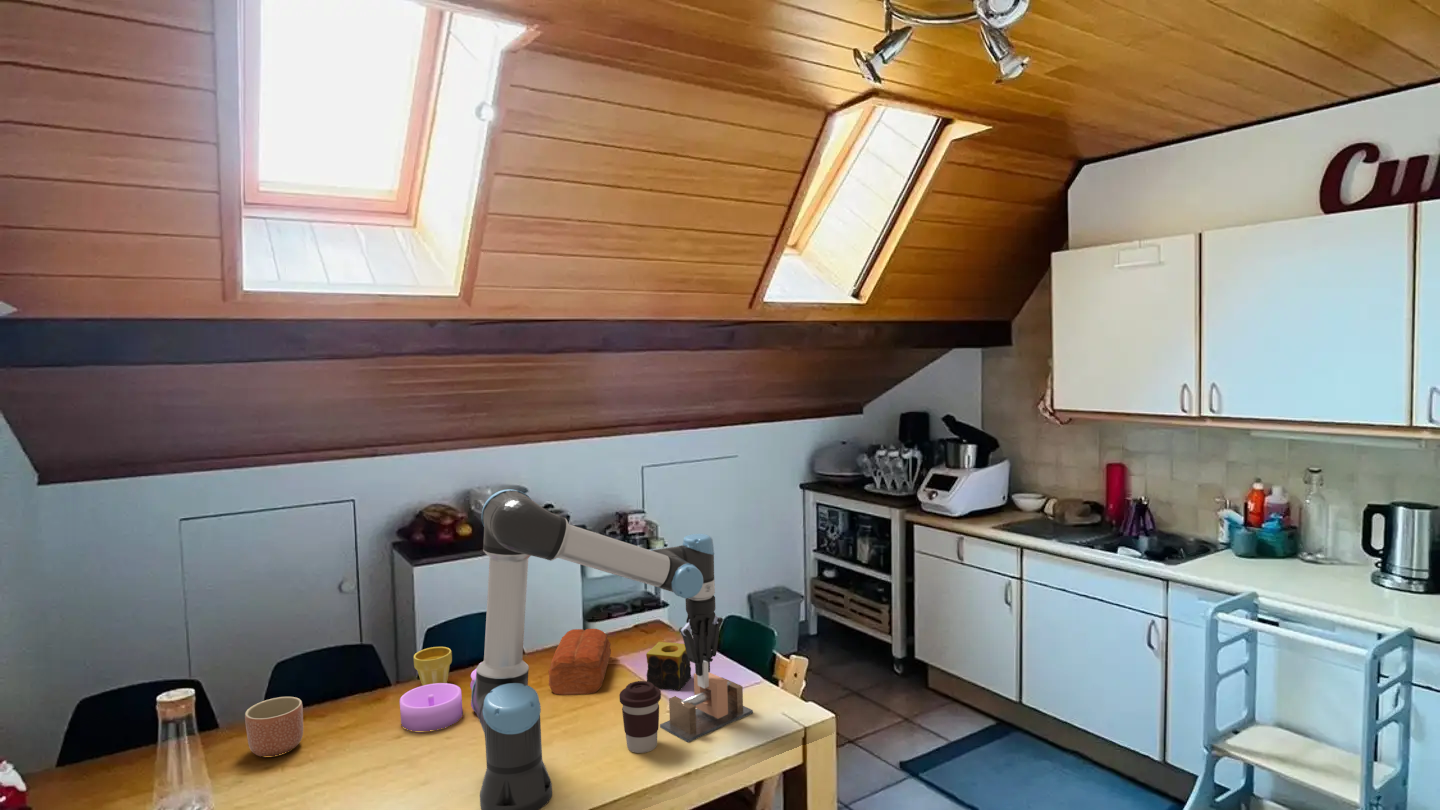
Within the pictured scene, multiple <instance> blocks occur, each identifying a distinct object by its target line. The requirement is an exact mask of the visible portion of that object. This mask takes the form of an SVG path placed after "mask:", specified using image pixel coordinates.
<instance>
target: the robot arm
mask: <svg viewBox="0 0 1440 810" xmlns="http://www.w3.org/2000/svg"><path fill="white" fill-rule="evenodd" d="M480 517H481V518H480V519H481V522H482V525H483V527H484V528H483V545H482V546H483V547H482V550H483V553H485V555H487V556H488V558H489V564H488V581H487V583H488V584H487V601H486V616H485V617H486V618H485V620H486V621H485V635H484V655H483V661H481V662H482V663H481V662H480V664H479V663H478V665H477V666H476V668H477V670H476V680H475V682H474V684H473V688H472V690H471V700H472V705H473V708H474V710H475V711H474V710H473V711H474V712H475V714H476V716H477V718H478V720H479V724H480V725H481V728H482V731H483V733H484V741H485V758H486V759H485V760H486V761H485V762H486V769H485V773H484V777H483V780H482V785H481V789H480V792H479V805H480V809H481V810H541V809H542V808H544V807H546V805H547V804H548V803H549V802H550V800H551V798H552V796H553V785H552V780H551V777H550V775H549V772H548V770H547V768H546V765H545V763H544V761H543V750H542V749H543V747H542V745H543V744H542V728H541V725H542V724H541V710H542V709H541V707H542V706H541V702H540V698H539V695H538V692H537V690H536V689H534V688H533V687H531V686H530V685H529V670H530V666H529V665H528V663H526V662H525V661H524V660H523V659H524V658H523V657H524V656H523V655H524V641H525V640H524V638H525V637H524V636H525V621H526V604H527V587H528V572H529V571H528V570H529V569H528V568H529V567H528V566H529V559H530V557H531V556H532V557H535V558H540V559H544V560H547V561H549V562H551V561H554V560H556V559H561V560H564V561H567V562H571V563H575V564H577V565H581V566H584V567H587V568H588V567H589V568H591V569H595V570H598V571H602V572H605V573H608V574H612V575H616V576H618V577H622V578H624V579H625V578H626V579H629V580H632V581H636V582H639V583H641V584H642V583H643V584H645V585H649V586H653V587H655V588H659V589H661V590H665V591H668V592H670V593H673V594H674V595H676V596H678V597H680V598H683V599H685V611H686V614H687V617H686V621H685V622H686V623H685V625H684V626H683V627H681V626H680V627H679V628H678V631H679V633H680V635H681V636H682V639H683V640H682V641H683V644H685V648H686V653H687V657H688V660H689V661H690V663H693V664H694V668H695V673H696V675H697V679H698V686H700V687H702V688H704V689H705V688H707V687H709V672H710V673H711V662H713V660H714V658H713V657H716V655H717V650H718V643H719V638H720V637H719V636H720V630H721V626H722V624H723V620H724V618H723V617H720V616H717V615H716V609H717V608H716V596H715V593H716V590H715V589H716V587H715V582H716V581H715V550H714V547H715V546H714V540H713V538H712V536H710V535H708V534H705V533H691V534H689V535H685V536H684V537H683V542H682V545H677V546H672V547H670V546H669V547H666V548H664V547H663V548H658V549H653V548H651V549H647V548H646V547H645V548H644V547H641V546H638V545H635V544H632V543H629V542H625V541H622V540H619V539H617V538H613V537H610V536H606V535H604V534H601V533H598V532H595V531H591V530H589V529H585V528H582V527H579V526H575V525H573V524H569V522H568V520H567V518H566V517H564V516H560V515H558V514H557V515H556V514H554V513H553V512H551V511H549V510H547V509H545V508H544V507H543V506H541V505H540V504H538V503H536V502H535V501H534V500H532V498H531V497H530V496H529V495H528V494H527V493H525V492H523V491H520V490H516V489H511V488H509V489H507V488H506V489H501V490H499V491H496V492H494V493H493V494H492V495H491V496H489V497H488V499H487V500H486V501H485V502H484V505H483V507H482V509H481V516H480ZM695 673H694V674H695Z"/></svg>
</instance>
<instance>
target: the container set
mask: <svg viewBox="0 0 1440 810" xmlns="http://www.w3.org/2000/svg"><path fill="white" fill-rule="evenodd" d="M482 662H483V661H481V662H480V663H482ZM480 663H478V665H479V664H480ZM476 670H477V667H476V668H475V669H474V670H473V671H472V672H471V674H470V678H471V682H470V685H469V686H470V689H471V691H472V688H473V684H474V682H475V680H476ZM470 706H471V709H472V710H473V711H474V712H475V710H474V708H473V705H472V699H471V700H470ZM399 708H400V711H399V712H400V724H402V725H401V727H402V726H403V727H404V728H406V729H408V730H412V731H430V730H436V731H438V730H437V729H440V730H442V729H441V728H443V729H446V728H448V726H449V727H450V725H451V726H453V725H454V723H455V724H456V723H458V722H459V721H460V720H461V719H462V717H463V714H464V713H463V699H462V689H461V687H460V686H459V685H457V684H453V683H448V682H447V683H435V684H428V685H424V686H422V685H420V686H417V687H415V688H412V689H410V690H408V691H407V692H405V693H403V695H402V696H401V697H400V698H399ZM460 718H461V719H460ZM459 719H460V720H459ZM452 724H453V725H452ZM403 727H402V728H403ZM445 727H446V728H445ZM404 728H403V729H404ZM408 730H407V731H408Z"/></svg>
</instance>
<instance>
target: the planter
mask: <svg viewBox="0 0 1440 810" xmlns="http://www.w3.org/2000/svg"><path fill="white" fill-rule="evenodd" d="M303 707H304V706H303V701H302V700H301V699H300V698H298V697H296V696H295V697H294V696H279V697H273V698H270V699H266V700H263V701H260V702H258V703H255V704H254V705H252V706H250V707H248V709H247V710H246V711H245V713H244V720H245V721H244V722H245V729H246V736H247V744H248V748H249V749H250V751H251V753H253V754H255V755H256V756H259V757H261V756H275V755H279V754H282V753H285V752H288V751H290V750H291V749H293V748H294V749H295V748H296V747H297V746H298V745H299V744H300V743H301V741H302V738H303V735H304V712H303V711H304V710H303V709H304V708H303ZM294 749H293V750H294ZM291 751H292V750H291ZM291 751H290V752H291ZM288 753H289V752H288Z"/></svg>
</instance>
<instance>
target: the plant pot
mask: <svg viewBox="0 0 1440 810" xmlns="http://www.w3.org/2000/svg"><path fill="white" fill-rule="evenodd" d="M452 662H453V651H452V650H451V648H449V647H446V646H433V647H432V646H431V647H427V648H424V649H422V650H419V651H417V652H416V653H415V654H413V666H414V669H415V670H417V673H418V676H419V680H420V682H421V686H424V685H428V684H435V683H448V679H449V672H450V667H451V666H450V665H451V664H452Z"/></svg>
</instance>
